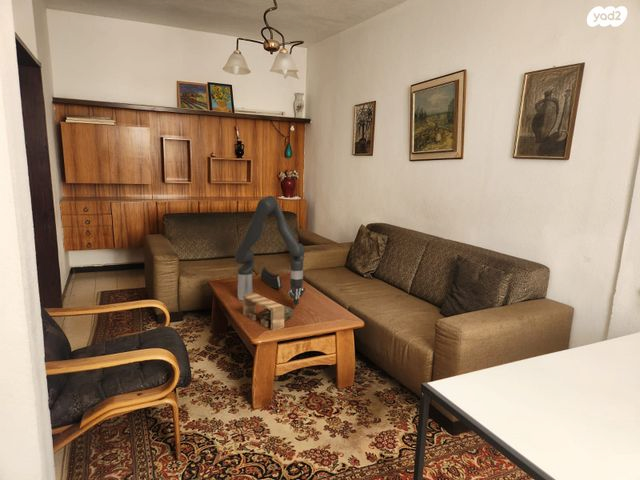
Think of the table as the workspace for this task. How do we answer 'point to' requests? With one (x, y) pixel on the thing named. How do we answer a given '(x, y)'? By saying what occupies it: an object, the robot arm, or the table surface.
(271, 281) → the magazine
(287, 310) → the turtle shell
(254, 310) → the oak overhang
